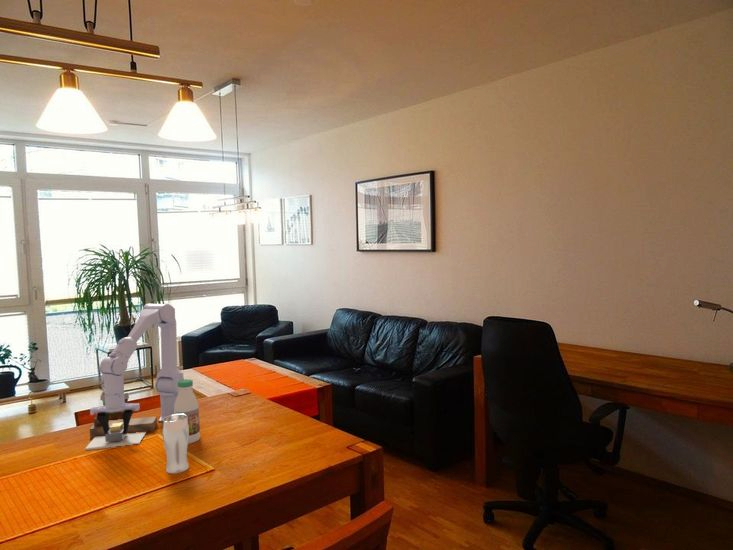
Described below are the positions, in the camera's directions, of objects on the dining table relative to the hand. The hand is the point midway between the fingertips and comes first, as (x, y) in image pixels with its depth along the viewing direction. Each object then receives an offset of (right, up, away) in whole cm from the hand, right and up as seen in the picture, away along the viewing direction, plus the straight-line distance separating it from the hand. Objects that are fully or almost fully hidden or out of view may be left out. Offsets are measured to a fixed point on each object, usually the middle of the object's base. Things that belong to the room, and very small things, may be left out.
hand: (116, 433), depth 161 cm
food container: (-13, -2, +23) cm, 26 cm away
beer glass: (+29, -3, -22) cm, 36 cm away
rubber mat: (0, -3, 0) cm, 3 cm away
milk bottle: (+24, -2, -1) cm, 24 cm away
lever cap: (0, -1, 0) cm, 1 cm away
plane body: (-2, -2, +10) cm, 10 cm away
